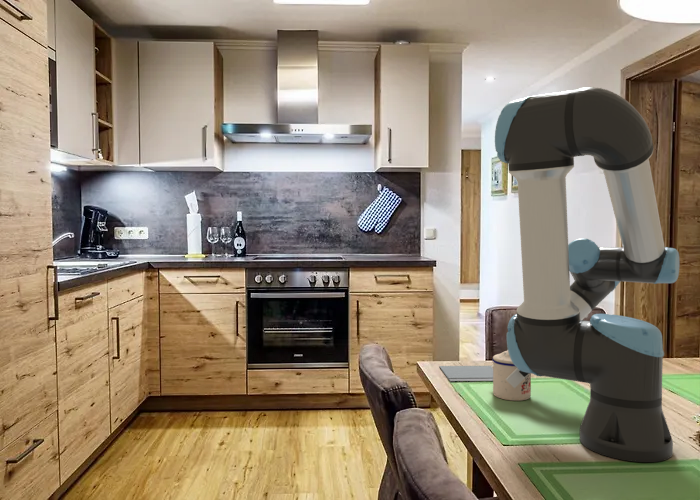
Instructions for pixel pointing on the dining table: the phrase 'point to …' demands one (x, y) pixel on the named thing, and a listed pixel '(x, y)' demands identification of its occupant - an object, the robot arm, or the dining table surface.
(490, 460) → the dining table surface
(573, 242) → the robot arm
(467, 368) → the slate mat
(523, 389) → the teacup with lid
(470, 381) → the black line strip
